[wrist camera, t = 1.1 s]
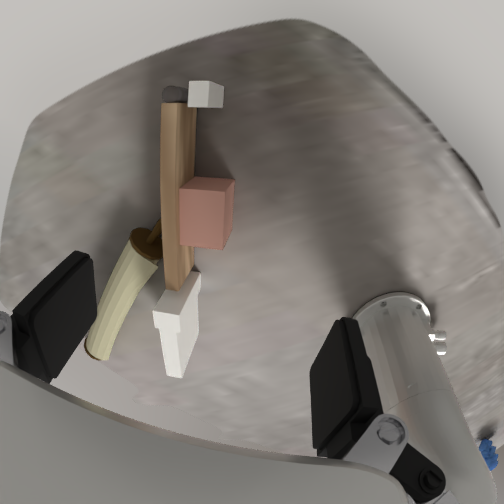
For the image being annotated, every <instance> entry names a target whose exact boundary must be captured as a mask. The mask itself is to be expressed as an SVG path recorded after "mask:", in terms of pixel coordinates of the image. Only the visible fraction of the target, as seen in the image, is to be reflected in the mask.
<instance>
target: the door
mask: <svg viewBox="0 0 504 504" xmlns="http://www.w3.org/2000/svg"><path fill="white" fill-rule="evenodd" d="M188 92H189V89H186V88H180V87H175V86H168V87H166V88H165V89H164V90H163V92H162V98H163V100H164V101H165V102H167V103H162V104H161V133H160V193H161V224H162V244H163V260H164V273H165V286H166V290H172V291H179V290H180V288H181V287H182V285H183V283H184V281H185V280H186V278H187V276H188V274H189V272H190V271H191V269H192V267H193V265H194V247H192V246H183V245H180V222H179V188H180V187H182V186H183V185H184V184H186V183H187V182H188V181H190V180H191V179H192V178H194V165H195V136H196V114H197V107H188Z"/></svg>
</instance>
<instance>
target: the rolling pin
mask: <svg viewBox="0 0 504 504" xmlns="http://www.w3.org/2000/svg"><path fill="white" fill-rule="evenodd" d="M161 233H162V224H161V219H159V220H158V222H157V223H156V225H155V227H154V228H153V230H152V231H151V230H149V229H146V228H137V229H134V230H132V232H131V234H130V238H129V241H128V243H127V244H126V246H125V248H124V250H123V252H122V254H121V256H120V258H119V260H118V262H117V264H116V265H115V267H114V269H113V272H112V274H111V276H110V278H109V280H108V283H107V285H106V287H105V289H104V292H103V294H102V296H101V299H100V302H99V304H98V307H97V318H96V320H95V322H94V323H93V324H92V326H91V327H90V331H89V334H88V337H87V338H86V339H85V342H84V348H85V351H86V353H87V354H88V355H89V356H90V357H91V358H93V359H96V360H108V359H109V356H110V353H111V350H112V346H113V344H114V341H115V338H116V336H117V334H118V331H119V329H120V327H121V325H122V323H123V321H124V319H125V317H126V315H127V313H128V311H129V309H130V307H131V305H132V304H133V302H134V300H135V298H136V297H137V295H138V293H139V291H140V290H141V288H142V287H143V286H144V284H145V283H146V282H147V281H148V279H149V278H150V277H151V276H152V274H153V273H154V272H155V271H156V270H157V268H158V265H156V264H157V262H158V261H159V260H160V259H161V258H163V244H162V239H161V238H160V237H159V235H160V234H161Z"/></svg>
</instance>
